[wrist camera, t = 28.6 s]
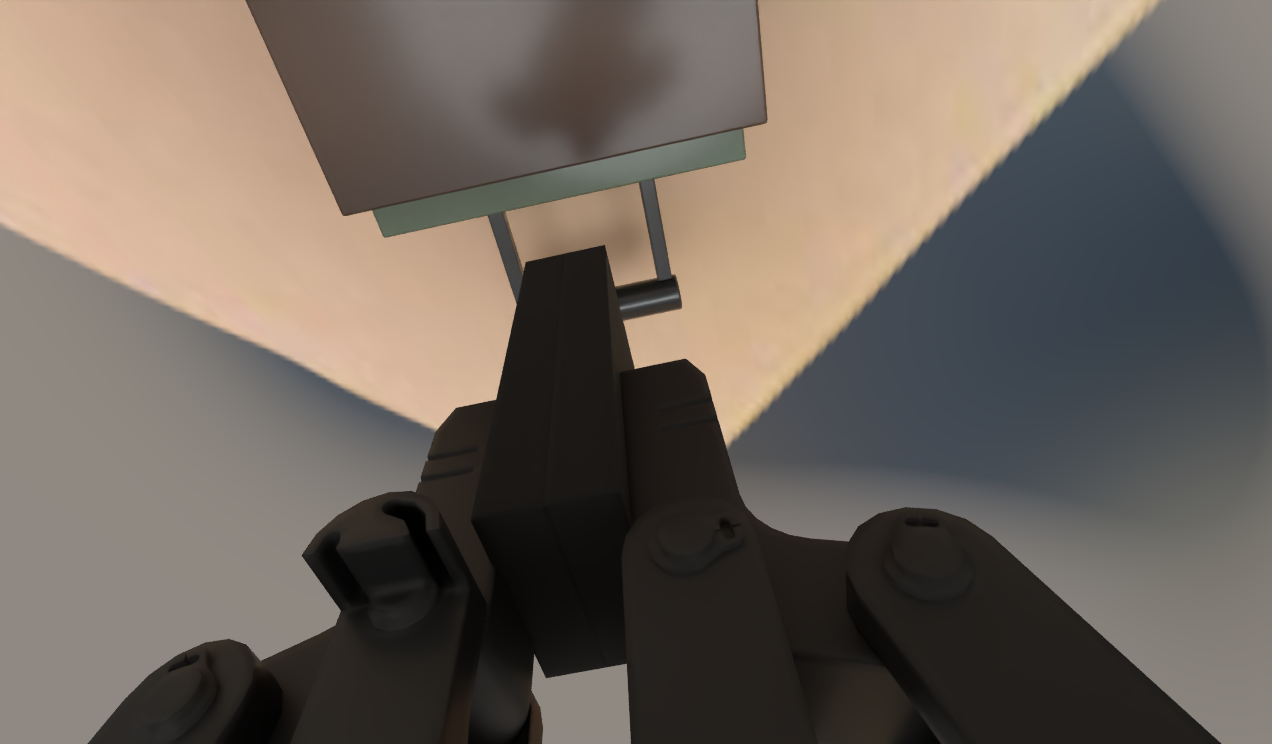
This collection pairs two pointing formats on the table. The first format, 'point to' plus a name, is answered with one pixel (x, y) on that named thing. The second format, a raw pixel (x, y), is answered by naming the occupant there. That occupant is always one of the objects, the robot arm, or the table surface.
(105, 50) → the table surface
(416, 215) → the drawer
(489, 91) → the cabinet
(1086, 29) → the table surface
